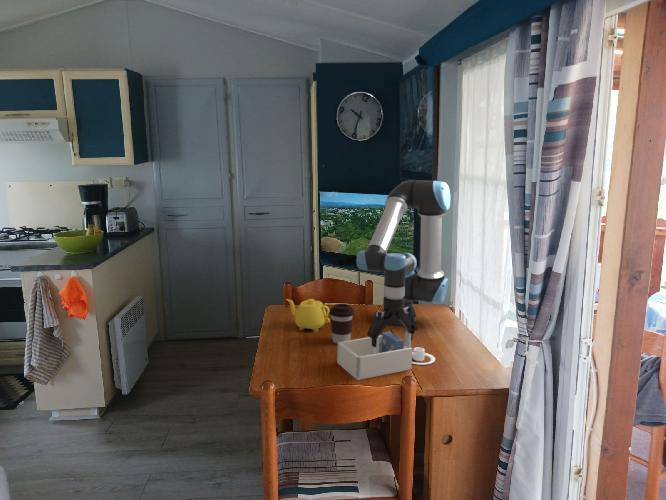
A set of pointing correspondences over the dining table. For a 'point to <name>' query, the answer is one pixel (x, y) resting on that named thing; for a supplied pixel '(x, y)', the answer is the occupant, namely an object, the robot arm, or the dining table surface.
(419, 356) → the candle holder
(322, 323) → the teapot
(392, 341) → the blue flat block
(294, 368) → the dining table surface
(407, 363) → the box
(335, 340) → the coffee cup
